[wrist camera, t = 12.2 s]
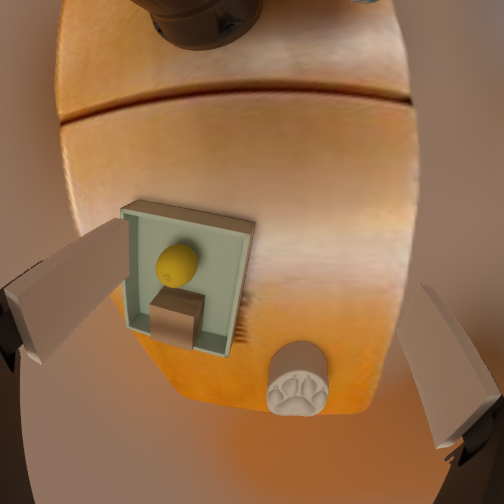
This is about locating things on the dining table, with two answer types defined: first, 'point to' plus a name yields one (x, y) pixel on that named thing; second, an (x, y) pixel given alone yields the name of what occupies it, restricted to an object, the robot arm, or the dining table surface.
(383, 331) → the dining table surface
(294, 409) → the lumpy-topped squat cylinder
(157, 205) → the box
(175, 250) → the lemon
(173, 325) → the walnut block
